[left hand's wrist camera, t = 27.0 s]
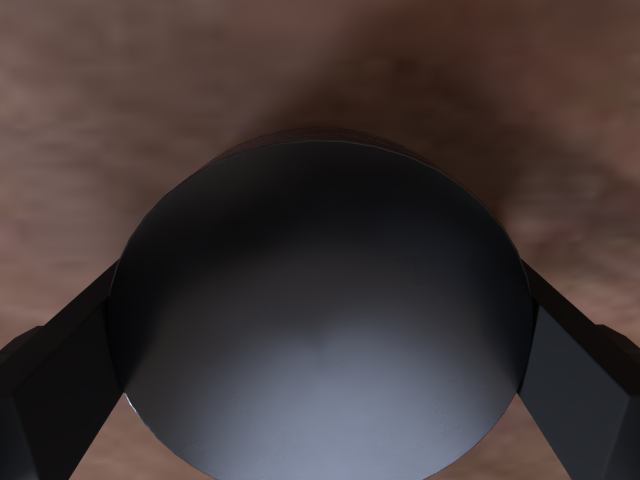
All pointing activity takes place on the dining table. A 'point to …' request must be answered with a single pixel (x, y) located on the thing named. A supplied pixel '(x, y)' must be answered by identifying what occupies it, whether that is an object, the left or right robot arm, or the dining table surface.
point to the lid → (320, 313)
